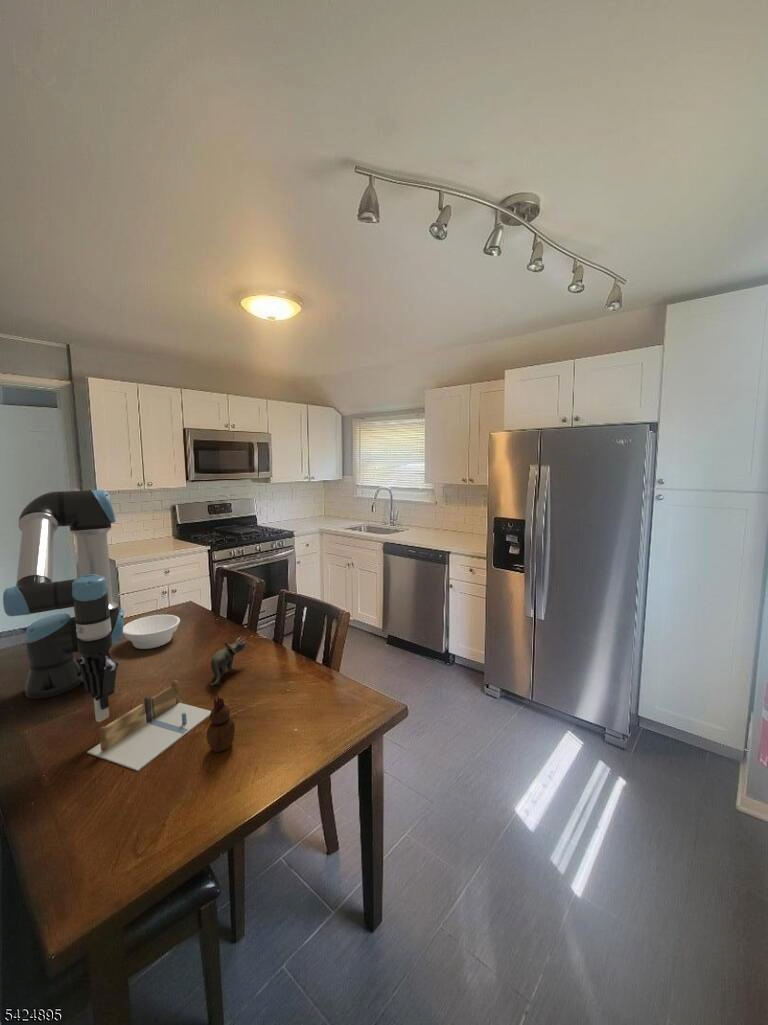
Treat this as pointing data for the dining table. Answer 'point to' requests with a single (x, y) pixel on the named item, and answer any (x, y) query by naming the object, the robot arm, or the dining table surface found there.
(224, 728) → the wooden figurine
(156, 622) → the bowl
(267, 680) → the dining table surface
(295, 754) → the dining table surface
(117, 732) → the fence panel
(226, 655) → the dinosaur figurine
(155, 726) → the card
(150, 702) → the fence fixed
